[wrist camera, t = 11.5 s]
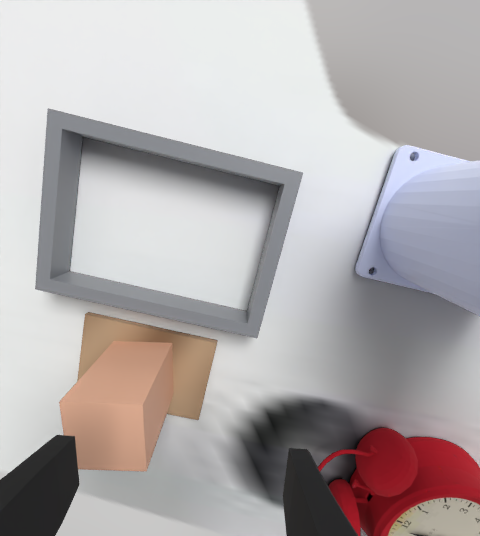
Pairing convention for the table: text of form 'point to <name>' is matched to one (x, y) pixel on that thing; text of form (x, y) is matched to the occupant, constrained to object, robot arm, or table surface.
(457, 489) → the alarm clock
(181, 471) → the table surface
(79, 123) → the gray rectangular frame
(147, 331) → the walnut pad
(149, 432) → the block
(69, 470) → the robot arm
